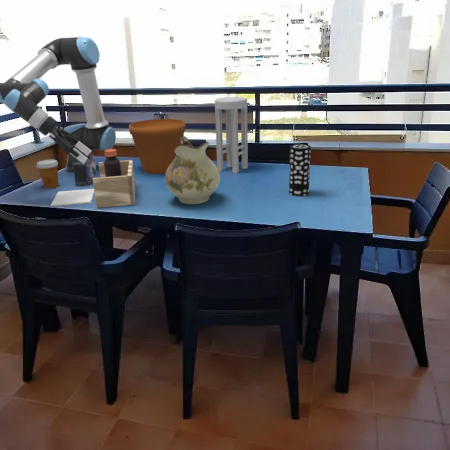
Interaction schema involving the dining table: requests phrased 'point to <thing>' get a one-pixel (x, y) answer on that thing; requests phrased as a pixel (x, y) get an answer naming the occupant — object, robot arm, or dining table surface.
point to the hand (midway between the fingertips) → (87, 157)
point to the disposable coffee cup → (48, 173)
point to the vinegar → (112, 164)
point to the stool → (231, 132)
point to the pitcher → (192, 173)
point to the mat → (73, 197)
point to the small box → (84, 172)
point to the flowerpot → (156, 142)
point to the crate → (115, 186)
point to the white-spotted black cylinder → (299, 169)
